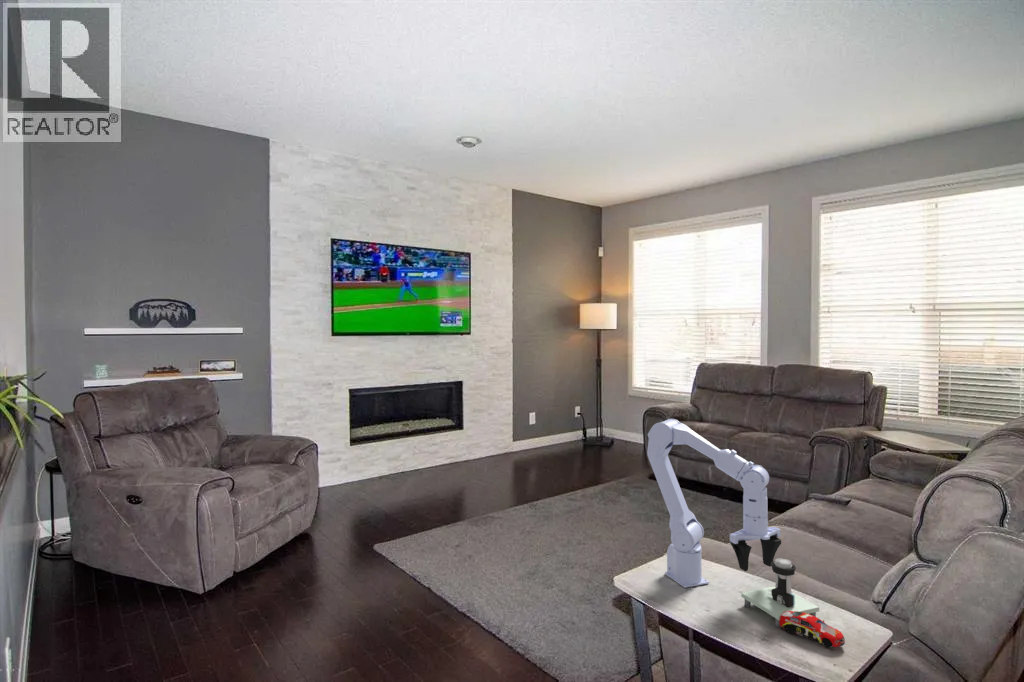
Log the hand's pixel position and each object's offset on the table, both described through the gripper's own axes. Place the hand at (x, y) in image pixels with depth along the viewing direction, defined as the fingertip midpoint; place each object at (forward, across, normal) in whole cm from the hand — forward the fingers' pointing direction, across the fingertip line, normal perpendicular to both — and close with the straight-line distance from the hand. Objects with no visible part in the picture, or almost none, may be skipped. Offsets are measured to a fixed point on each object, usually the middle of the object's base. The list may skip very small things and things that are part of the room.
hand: (755, 567), depth 139 cm
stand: (+8, 0, -8) cm, 11 cm away
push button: (+5, 0, -8) cm, 10 cm away
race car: (+8, -2, -19) cm, 20 cm away
